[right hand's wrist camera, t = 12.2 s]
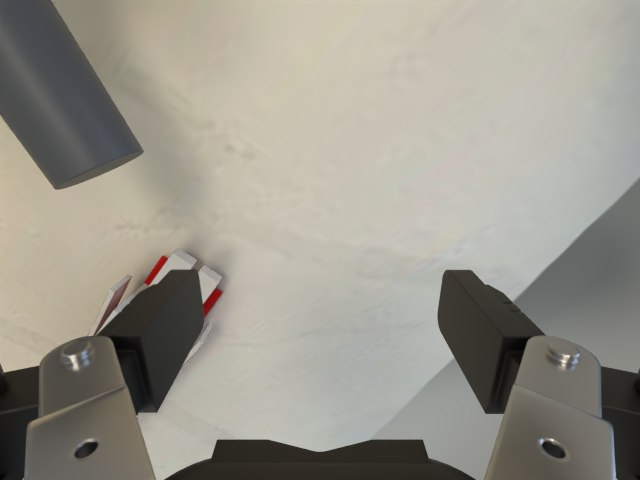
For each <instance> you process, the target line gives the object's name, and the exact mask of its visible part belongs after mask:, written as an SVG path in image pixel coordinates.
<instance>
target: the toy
mask: <svg viewBox="0 0 640 480" xmlns="http://www.w3.org/2000/svg"><path fill="white" fill-rule="evenodd" d="M196 262H197V260H196V259H195V258H193V257H192V256H190V255H189V254H187V253H186V252H184V251H183V250H181V249H179V248H178V249H177V250H175V251H174V252H173V253H172V254H171V256H170V257H169V259H168V258H166V257H164V256H162V257H161V259H160V260H159V261H158V263H157V264H156V266H155V267H154V269H153V270H152V272H151V273H150V275H149V276H148V277H147V279H146V280H145V282H144V283H143V285H142V286H141V287H139V288H138V289H137V290H136V291H135V292H134V293H133V294H131V295H130V296H129V297H128V298H127V299H126V300H125V301H123V302H122V303H121V304H120V305H119V306H118V307H117V305H118V303H119V301H120V299H121V297H122V295H123V293H124V291H125V289H126V287H127V285H128V283H129V281H130V280H131V278H132V276H130V275H127V276H126V277H124V278H123V279H122V280H121V281H120V282H119V283H118V284H116V285H115V286H114V287H113V288H112V289H111V290H110V291H109V293H108V295H107V297H106V299H105V301H104V303H103V305H102V308H101V310H100V312H99V314H98V316H97V318H96V320H95V322H94V324H93V326H92V328H91V330H90V332H89V334H88V336H96V335H97V334H98V333H99V332H100V331H101V330H102V329H103V328H104V327H105V326H106V325H107V324H108V323H109V322H110V321H111V320H112V319H113V318H114V317H115V316H116V315H117V314H118V313H119V312H122V309H123V308H124V307H125V306H126V305H127V304H130V301H131V300H132V299H133V298H134V297H135V296H136V295H137V294H138V293H139V292H141V291H143V290H144V289H146V288H148V287H150V286H152V285H153V284H158V283H159V282H160V281H161V279H162V278H163V277H164V276H165V275H166V274H167V273H168V272H169V271H170V270H172V269H192V267H193V266H194V264H195V263H196ZM198 274H199V279H200V286H201V294H202V301H203V308H204V317H205V316H206V315H207V313H208V312H209V311H210V309H211V308H212V306H213V305H214V304H215V302H216V301H217V299H218V298H219V297H220V295H221V294H222V292H221V291H219V290H218V289H216V286H217V285H218V284H219V282H220V280H221V278H222V276H220V275H219V274H217V273H216V272H214V271H213V270H211V269H210V268H208V267H207V266H205V265H204V266H203V267H202V268H201V269H200V271H199V272H198ZM116 307H117V308H116ZM211 327H212V325H211V324H210V323H209V324H208V325H207V326H206V327H205V328H204V329H203V330H202V331H201V333H200V334H199V336H198V338H197V340H196V341H195V343H194V345H193V347H192V349H191V351H190V353H189V354H188V356H187V358H186V360H185V362H186V361H187V360H188V359H189V358H190V357H191V356H192V355H193V354H194V353H195V352H196V351H197V349H198V348H199V347H200V346H201V345H202V344H203V343H204V341H205V339H206V337H207V335H208V333H209V331H210V329H211ZM185 362H184V364H185ZM184 364H183V365H184ZM183 365H182V366H183Z"/></svg>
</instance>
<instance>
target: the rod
mask: <svg viewBox="0 0 640 480" xmlns="http://www.w3.org/2000/svg"><path fill="white" fill-rule="evenodd" d="M0 115H1V117H2V118H3V119H4V121H5V122H6V123H7V125H8V126H9V127H10V129H11V130H12V132H13V133H14V134H15V136H16V137H17V138H18V140H19V141H20V142H21V144H22V145H23V147H24V148H25V149H26V151H27V152H28V153H29V155H30V156H31V157H32V159H33V160H34V161H35V163H36V164H37V166H38V167H39V168H40V170H41V171H42V172H43V174H44V175H45V176H46V178H47V179H48V181H49V182H50V183H51V185H52V186H53V187H54V189H56V190H57V189H63V188H67V187H70V186H73V185H76V184H79V183H81V182H84V181H87V180H89V179H92V178H94V177H97V176H99V175H101V174H104V173H106V172H108V171H110V170H113V169H115V168H117V167H119V166H121V165H123V164H125V163H127V162H129V161H131V160H133V159H135V158H136V157H138V156H140V155H141V154H142V153H143V152H144V151H143V149H142V147H141V146H140V144H139V143H138V141H137V139H136V138H135V136H134V134H133V133H132V131H131V130H130V128H129V126H128V125H127V123H126V121H125V120H124V118H123V117H122V115H121V113H120V112H119V110H118V108H117V107H116V105H115V104H114V102H113V100H112V99H111V97H110V95H109V94H108V92H107V91H106V89H105V87H104V86H103V84H102V82H101V81H100V79H99V78H98V76H97V74H96V73H95V71H94V69H93V68H92V66H91V65H90V63H89V61H88V60H87V58H86V56H85V55H84V53H83V52H82V50H81V48H80V47H79V45H78V43H77V42H76V40H75V39H74V37H73V35H72V34H71V32H70V30H69V29H68V27H67V26H66V24H65V22H64V21H63V19H62V17H61V16H60V14H59V13H58V11H57V9H56V8H55V6H54V4H53V3H52V1H51V0H0Z"/></svg>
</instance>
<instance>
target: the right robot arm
mask: <svg viewBox="0 0 640 480" xmlns="http://www.w3.org/2000/svg"><path fill="white" fill-rule="evenodd" d="M203 323H204V308H203V301H202V294H201V286H200V279H199V274H198V272H197V270H195V269H172V270H170V271H169V272H168V273H167V274H166V275H165V276H164V277H163V278H162V279H161V281H160V282H159V283H158V284H153V285H152V286H150V287H148V288H146V289H144V290H143V291H141V292H139V293H138V294H137V295H136V296H135V297H134V298H133V299H132V300H131V301H130V304H127V305H126V306H125V307H124V308H123V309H122V312H119V313H118V314H117V315H116V316H115V317H114V318H113V319H112V320H111V321H110V322H109V323H108V324H107V325H106V326H105V327H104V328H103V329H102V330H101V331H100V332H99V333H98V334H97V335H96V336H86V337H81V338H78V339H74V340H72V341H69V342H67V343H64V344H62V345H60V346H58V347H57V348H55V349H53V350H52V351H51V352H49V353H48V354H47V355H46V356H45V357H44V358H43V359H42V361H41V363H40V365H39V366H35V367H30V368H25V369H20V370H15V371H10V372H5V373H4V372H3V369H2V367H1V364H0V480H22V479H23V478H24V480H156V478H155V474H154V471H153V468H152V465H151V461H150V458H149V455H148V452H147V448H146V445H145V442H144V439H143V435H142V432H141V429H140V426H139V422H138V419H137V414H138V413H139V412H158V410H159V408H160V406H161V404H162V402H163V400H164V399H165V397H166V395H167V393H168V391H169V389H170V388H171V386H172V384H173V382H174V380H175V378H176V376H177V375H178V373H179V371H180V369H181V367H182V365H183V364H184V362H185V360H186V358H187V356H188V354H189V353H190V351H191V349H192V347H193V345H194V343H195V341H196V340H197V338H198V336H199V334H200V332H201V330H202V327H203ZM438 325H439V329H440V331H441V333H442V335H443V337H444V339H445V341H446V342H447V344H448V346H449V348H450V350H451V351H452V353H453V355H454V357H455V359H456V361H457V362H458V364H459V366H460V368H461V370H462V371H463V373H464V375H465V377H466V379H467V381H468V382H469V384H470V386H471V388H472V390H473V391H474V393H475V395H476V397H477V399H478V401H479V402H480V404H481V406H482V408H483V410H484V412H485V413H486V414H504V416H503V419H502V422H501V426H500V429H499V432H498V435H497V439H496V442H495V445H494V448H493V452H492V455H491V458H490V461H489V465H488V468H487V471H486V474H485V478H484V480H616V478H617V479H618V480H640V369H639V372H638V374H637V373H632V372H627V371H622V370H617V369H612V368H607V367H602V366H601V365H600V363H599V361H598V359H597V358H596V357H595V356H594V355H593V354H592V353H591V352H589V351H588V350H586V349H585V348H583V347H582V346H580V345H578V344H576V343H573V342H571V341H568V340H566V339H562V338H559V337H554V336H546V335H545V334H544V333H543V332H542V331H541V330H540V329H539V328H538V327H537V326H536V325H535V324H534V323H533V322H532V321H531V320H530V319H529V318H528V317H527V316H526V315H525V314H524V313H521V310H520V309H519V308H518V307H517V306H516V305H515V304H513V302H512V301H511V300H510V299H509V298H508V297H507V296H506V295H505V294H504V293H502V292H500V291H499V290H497V289H495V288H493V287H491V286H490V285H485V284H484V283H483V282H482V281H481V280H480V279H479V278H478V277H477V276H476V275H475V274H474V273H473V271H471V270H446V271H445V272H444V274H443V279H442V286H441V293H440V300H439V307H438ZM165 480H475V479H474V478H472V477H471V476H469V475H467V474H466V473H464V472H462V471H460V470H458V469H456V468H454V467H452V466H450V465H448V464H445V463H442V462H439V461H437V460H433V459H429V458H428V455H427V452H426V449H425V445H424V442H423V440H369V441H365V442H361V443H357V444H353V445H349V446H345V447H341V448H337V449H333V450H329V451H325V452H315V451H311V450H307V449H303V448H299V447H295V446H291V445H287V444H283V443H279V442H275V441H271V440H217V442H216V445H215V449H214V452H213V455H212V458H211V459H207V460H203V461H201V462H198V463H195V464H192V465H190V466H188V467H186V468H184V469H182V470H180V471H178V472H176V473H174V474H173V475H171V476H169V477H168V478H166V479H165Z"/></svg>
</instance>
